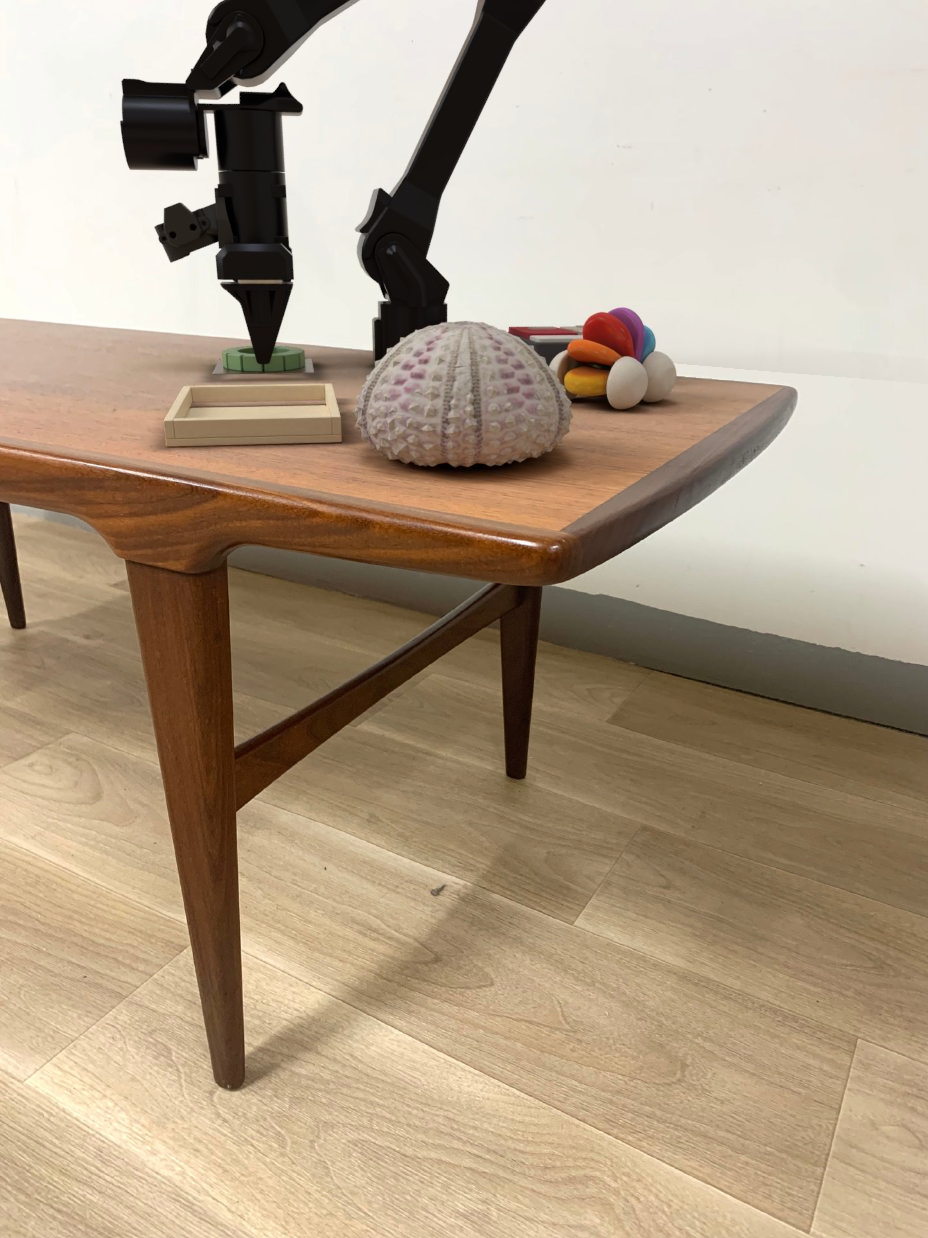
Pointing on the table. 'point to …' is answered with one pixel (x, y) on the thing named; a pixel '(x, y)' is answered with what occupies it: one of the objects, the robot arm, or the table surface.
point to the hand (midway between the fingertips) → (264, 356)
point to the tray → (253, 416)
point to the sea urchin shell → (462, 399)
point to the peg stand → (305, 369)
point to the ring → (247, 361)
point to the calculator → (548, 339)
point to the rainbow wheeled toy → (615, 361)
